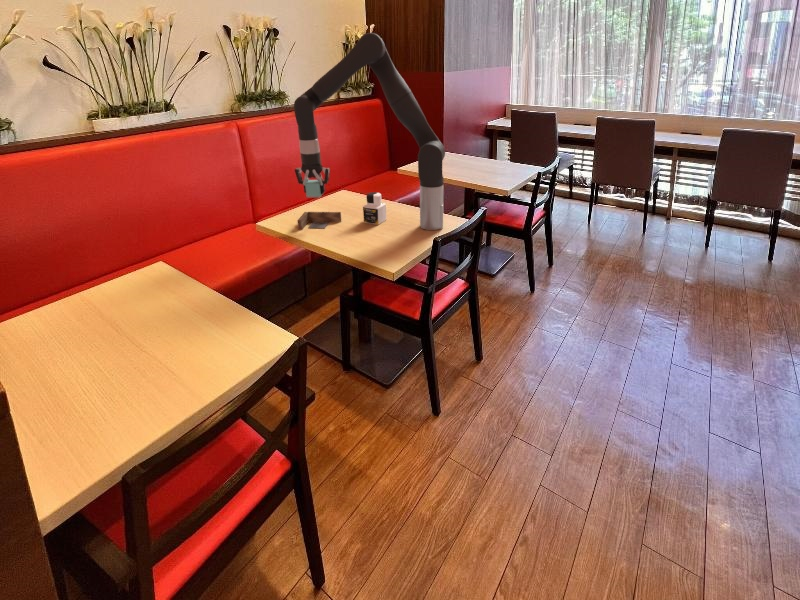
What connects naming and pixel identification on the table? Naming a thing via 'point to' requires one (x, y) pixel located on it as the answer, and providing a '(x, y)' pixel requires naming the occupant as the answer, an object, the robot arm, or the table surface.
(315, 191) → the block
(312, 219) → the arena
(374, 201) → the medicine bottle
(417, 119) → the robot arm
